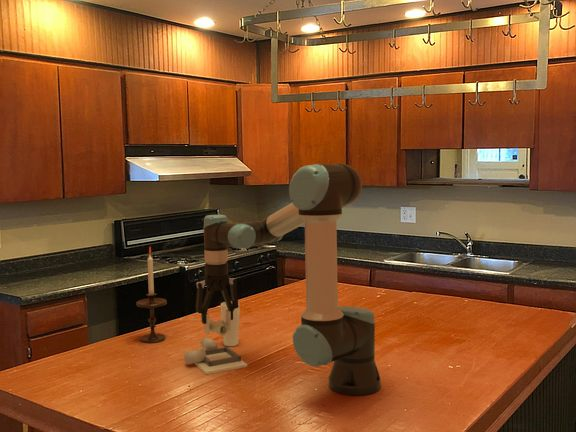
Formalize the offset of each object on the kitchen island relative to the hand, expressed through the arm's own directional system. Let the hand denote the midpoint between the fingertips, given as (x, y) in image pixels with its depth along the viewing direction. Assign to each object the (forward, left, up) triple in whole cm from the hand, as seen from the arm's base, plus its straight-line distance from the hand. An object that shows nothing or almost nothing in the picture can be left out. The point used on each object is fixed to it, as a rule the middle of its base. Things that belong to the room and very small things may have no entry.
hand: (217, 331), depth 198 cm
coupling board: (+1, +2, -10) cm, 10 cm away
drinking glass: (+14, -10, -10) cm, 20 cm away
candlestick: (+34, +13, -10) cm, 38 cm away
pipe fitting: (0, -1, -1) cm, 1 cm away
